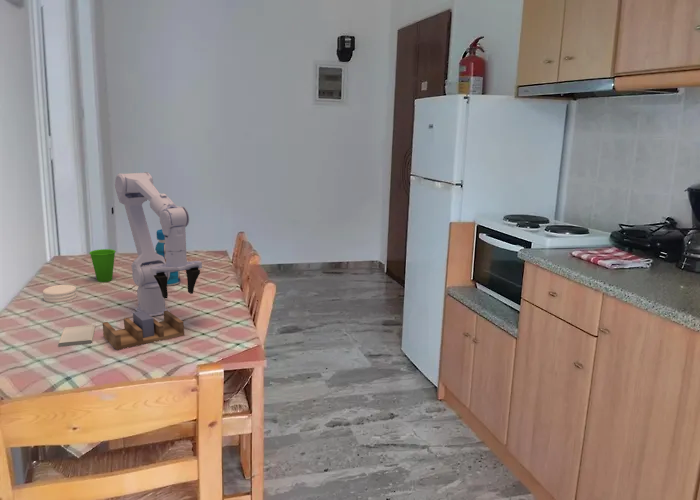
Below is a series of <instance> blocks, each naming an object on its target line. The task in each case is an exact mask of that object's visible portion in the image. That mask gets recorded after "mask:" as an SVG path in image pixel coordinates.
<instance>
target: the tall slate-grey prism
mask: <svg viewBox="0 0 700 500" xmlns="http://www.w3.org/2000/svg"><path fill="white" fill-rule="evenodd" d="M152 317H153V316H152ZM152 317H151V316H150V315H148V314H147V313H146V312H145V311H138V312H137V311H134V312H132V322H133V323H135V324H136V325H137V326H138V327H139V328H140V329H141V330H142V331H143V338H145V337H150V336H154V321H153V318H154V317H153V318H152Z"/></svg>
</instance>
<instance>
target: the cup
mask: <svg viewBox="0 0 700 500" xmlns="http://www.w3.org/2000/svg"><path fill="white" fill-rule="evenodd" d="M116 252H117V251H116V249H110V248H105V249H104V248H103V249H102V248H101V249H94V250H91V251H89V255H90V258H91V262H92V266H93V270H94V273H95V276H96V281H97V282H99V283H108V282H111V281H113V274H114V265H115V256H116Z"/></svg>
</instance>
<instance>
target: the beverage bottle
mask: <svg viewBox="0 0 700 500" xmlns="http://www.w3.org/2000/svg"><path fill="white" fill-rule="evenodd" d="M155 234H156V240H157V241H158V242H157V243H156V245H155V247H154V251H155V253H157V254H159V255H161V256H163V257H164V259H165V262H166V253H165V235H164V234H163V232H162V228H161V229H157V230H156V233H155ZM180 272H181V271H175V272H170V277H169V279H168V281H167V287H171V286H177V285H178V284H180V283H181V277H180V276H181V275H180Z"/></svg>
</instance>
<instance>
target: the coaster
mask: <svg viewBox="0 0 700 500" xmlns="http://www.w3.org/2000/svg"><path fill="white" fill-rule="evenodd" d="M42 295H43V296H42V297H43V302H47V303H64V302H69V301H71V300H74V299H77V295H78V294H77V287H76V286H74V285H72V284H60V285H59V284H58V285H53V286H52V285H51V286H48V287H46V288H44V289H43V290H42Z"/></svg>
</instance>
